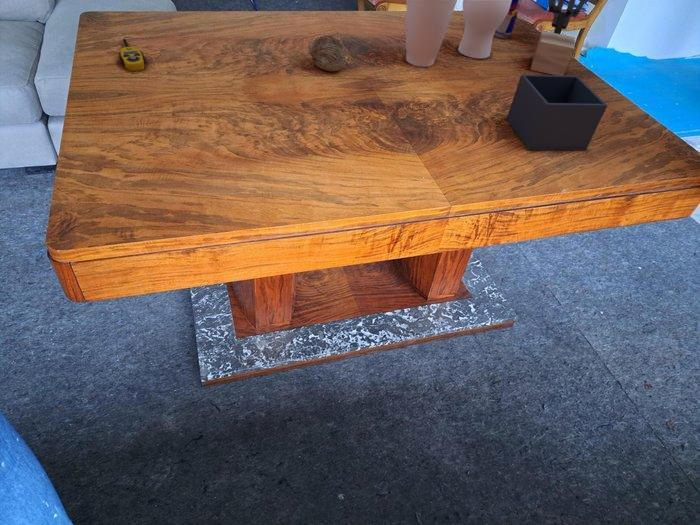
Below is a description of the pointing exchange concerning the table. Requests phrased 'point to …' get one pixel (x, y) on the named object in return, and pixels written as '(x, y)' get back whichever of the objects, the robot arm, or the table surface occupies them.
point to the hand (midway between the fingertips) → (555, 39)
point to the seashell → (327, 53)
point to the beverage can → (508, 21)
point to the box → (555, 112)
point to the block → (552, 53)
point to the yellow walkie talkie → (132, 58)
